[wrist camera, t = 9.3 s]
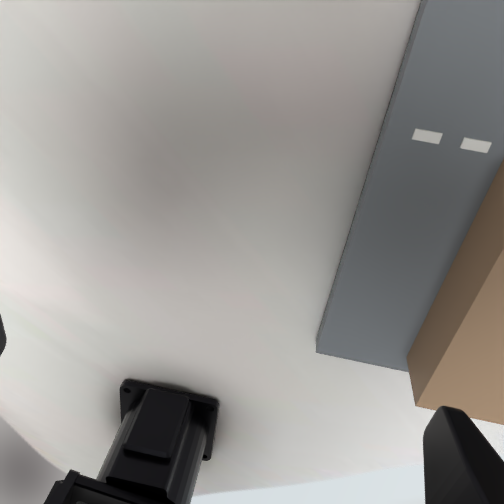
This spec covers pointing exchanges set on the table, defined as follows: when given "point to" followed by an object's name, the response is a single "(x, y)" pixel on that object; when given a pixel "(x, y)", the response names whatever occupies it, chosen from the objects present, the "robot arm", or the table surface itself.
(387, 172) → the board
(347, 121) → the table surface
